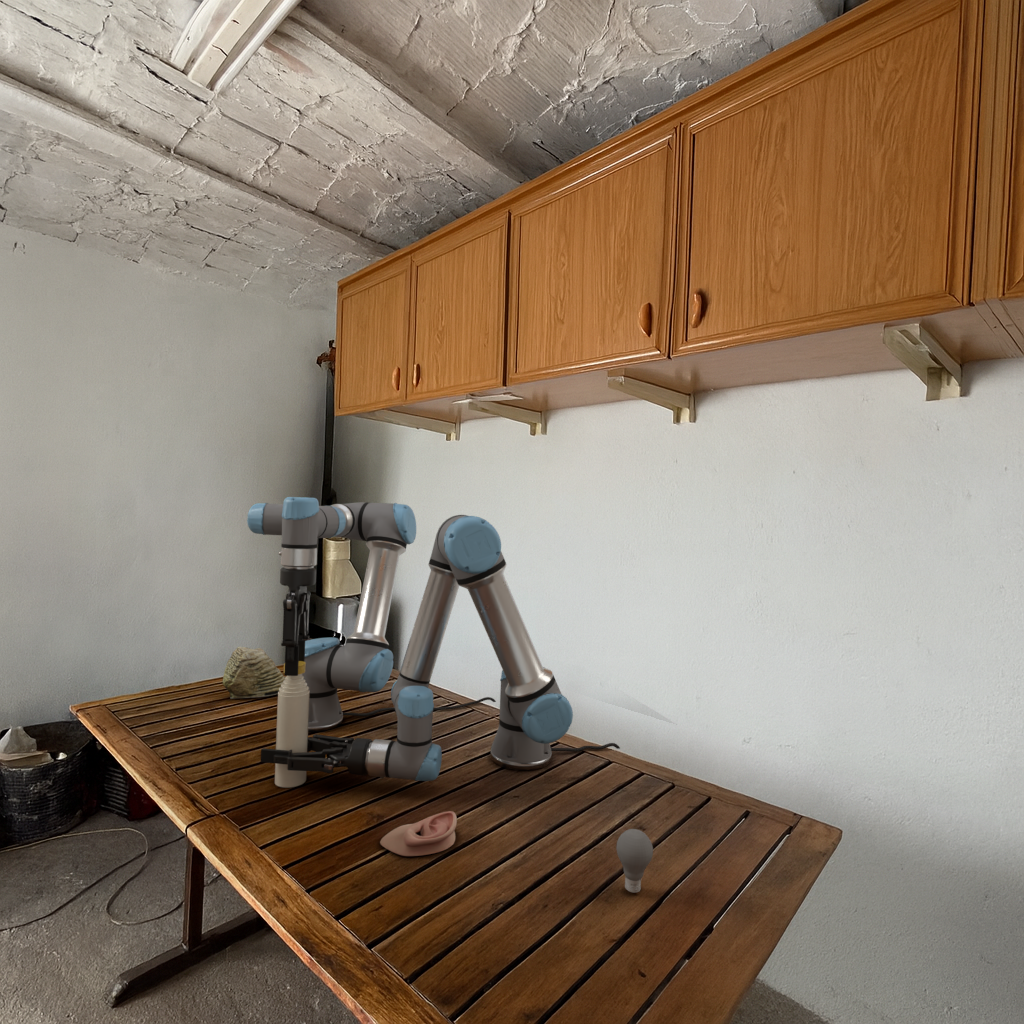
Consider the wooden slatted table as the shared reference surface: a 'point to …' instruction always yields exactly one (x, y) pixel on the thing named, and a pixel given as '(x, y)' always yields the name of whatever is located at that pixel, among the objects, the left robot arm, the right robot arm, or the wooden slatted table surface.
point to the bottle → (292, 727)
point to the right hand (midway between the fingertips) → (270, 748)
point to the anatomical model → (422, 836)
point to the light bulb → (634, 857)
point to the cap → (300, 667)
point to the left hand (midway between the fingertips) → (294, 671)
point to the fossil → (251, 674)
